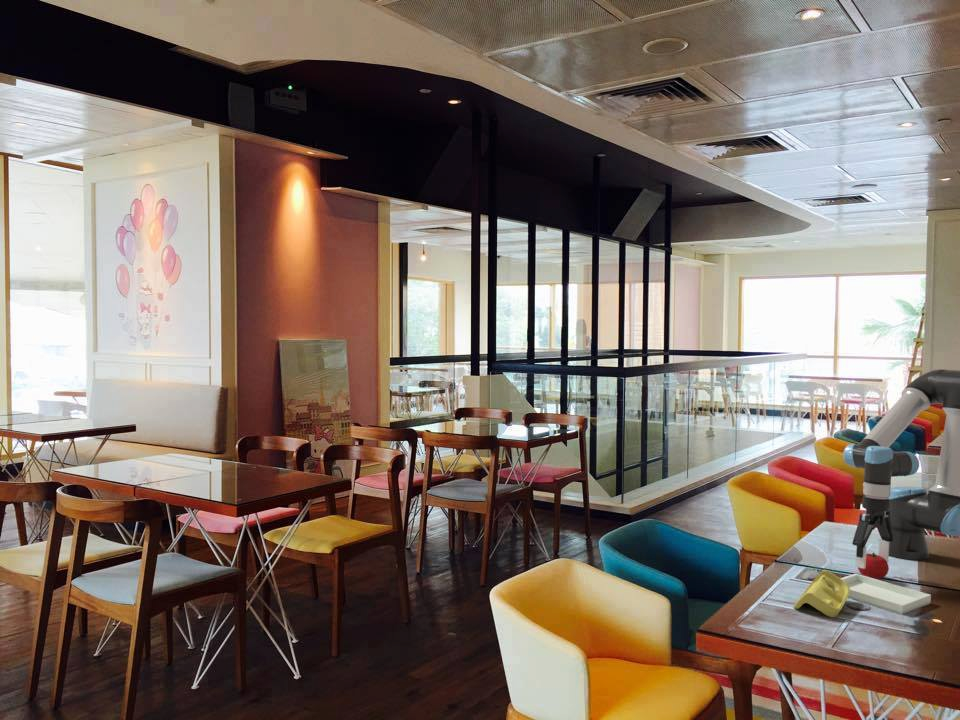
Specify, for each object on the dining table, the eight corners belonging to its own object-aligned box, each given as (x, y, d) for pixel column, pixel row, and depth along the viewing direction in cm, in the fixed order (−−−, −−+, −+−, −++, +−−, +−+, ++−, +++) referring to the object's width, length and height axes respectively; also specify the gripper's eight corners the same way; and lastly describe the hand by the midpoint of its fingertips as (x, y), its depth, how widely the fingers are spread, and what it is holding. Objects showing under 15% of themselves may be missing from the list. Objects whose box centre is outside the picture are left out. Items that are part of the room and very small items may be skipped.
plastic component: (839, 612, 209) (804, 589, 214) (825, 633, 212) (791, 609, 216) (853, 586, 225) (820, 565, 230) (840, 606, 228) (808, 585, 232)
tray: (855, 581, 241) (855, 573, 241) (930, 603, 224) (931, 594, 224) (826, 590, 232) (826, 582, 232) (902, 614, 214) (902, 605, 214)
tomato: (851, 573, 250) (852, 548, 249) (879, 573, 250) (881, 549, 249) (864, 582, 241) (865, 556, 241) (893, 583, 241) (894, 557, 240)
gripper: (884, 490, 254) (880, 555, 255) (842, 497, 240) (838, 566, 241) (908, 495, 248) (904, 561, 249) (866, 502, 234) (862, 573, 235)
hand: (871, 564), depth 245 cm, fingers open, 13 cm apart
